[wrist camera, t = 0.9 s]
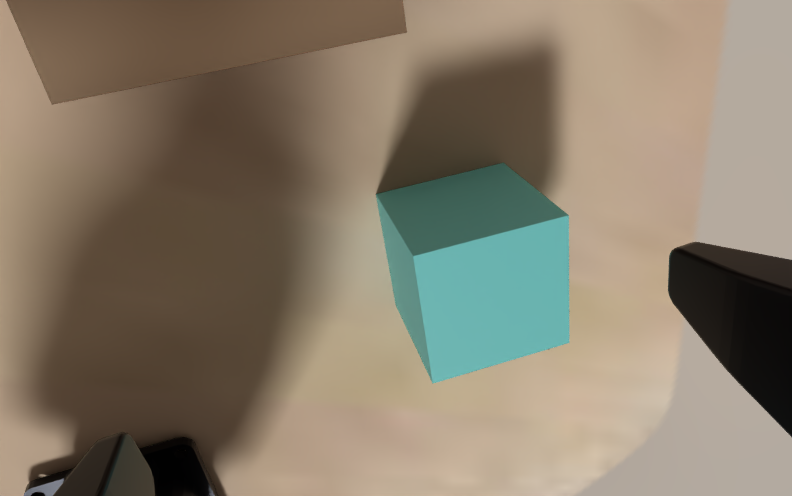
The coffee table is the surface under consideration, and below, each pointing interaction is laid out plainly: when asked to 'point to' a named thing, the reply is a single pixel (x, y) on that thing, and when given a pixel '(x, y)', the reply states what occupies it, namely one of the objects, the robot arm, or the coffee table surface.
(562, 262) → the teal cube
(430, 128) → the coffee table surface
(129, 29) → the walnut block
